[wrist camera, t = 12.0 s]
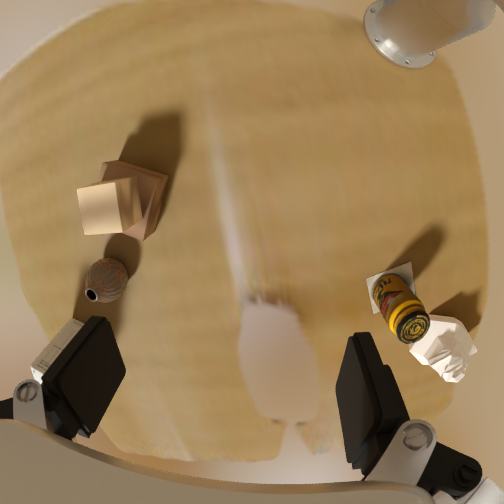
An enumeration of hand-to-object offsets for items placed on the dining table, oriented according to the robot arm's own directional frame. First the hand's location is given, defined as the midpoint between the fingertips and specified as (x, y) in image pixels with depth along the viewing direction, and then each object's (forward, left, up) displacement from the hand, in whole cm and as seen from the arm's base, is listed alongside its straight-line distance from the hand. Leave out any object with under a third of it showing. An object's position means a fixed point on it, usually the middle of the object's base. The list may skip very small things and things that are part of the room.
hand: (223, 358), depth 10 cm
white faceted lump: (+27, +36, -32) cm, 55 cm away
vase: (+12, -25, -32) cm, 42 cm away
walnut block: (-1, -19, -32) cm, 37 cm away
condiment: (+15, +22, -32) cm, 42 cm away
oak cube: (-2, -19, -27) cm, 33 cm away
